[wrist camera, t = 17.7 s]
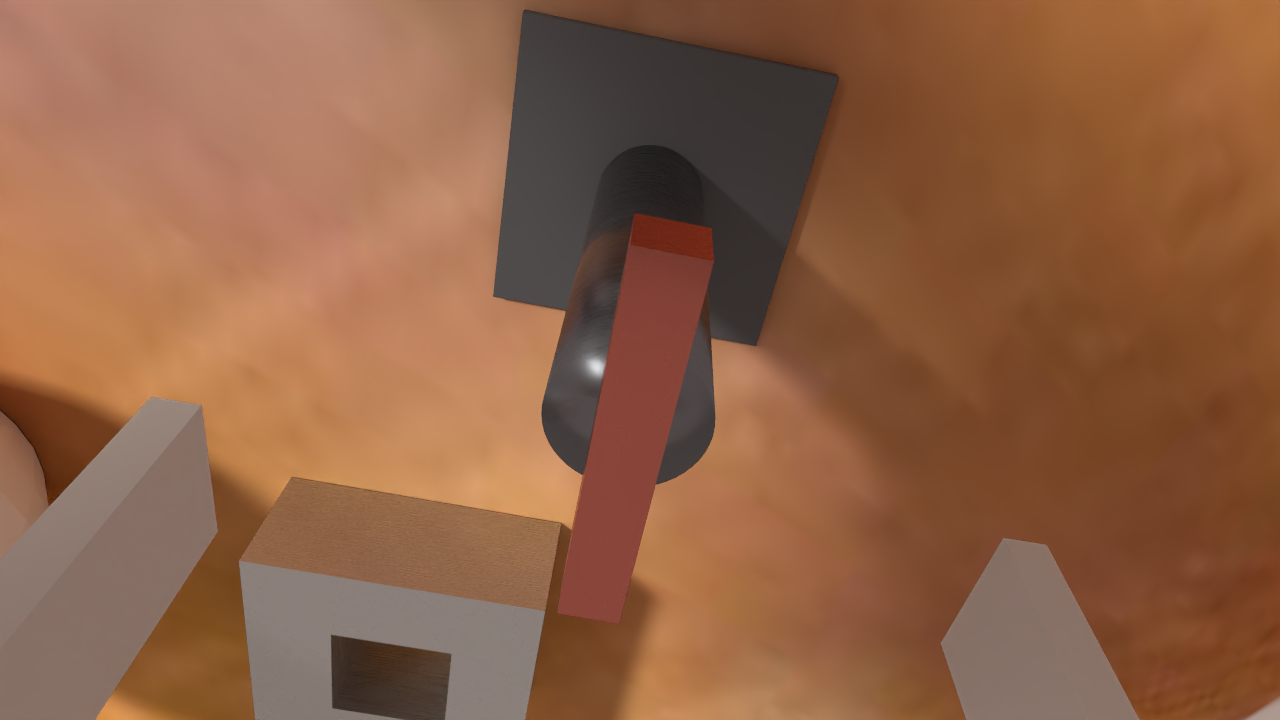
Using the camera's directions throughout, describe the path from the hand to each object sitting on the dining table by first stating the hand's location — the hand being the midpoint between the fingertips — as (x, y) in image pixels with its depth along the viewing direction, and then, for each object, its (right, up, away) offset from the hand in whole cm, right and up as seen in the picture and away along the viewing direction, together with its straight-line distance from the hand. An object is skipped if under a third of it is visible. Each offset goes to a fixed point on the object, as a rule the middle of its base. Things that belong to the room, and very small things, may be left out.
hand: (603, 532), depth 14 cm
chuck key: (+1, +8, +14) cm, 17 cm away
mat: (+1, +9, +15) cm, 17 cm away
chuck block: (-10, -8, +26) cm, 29 cm away
